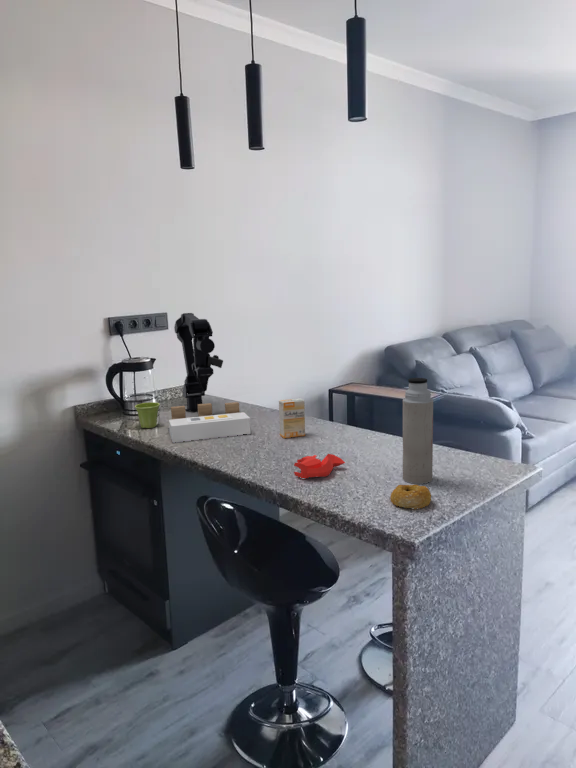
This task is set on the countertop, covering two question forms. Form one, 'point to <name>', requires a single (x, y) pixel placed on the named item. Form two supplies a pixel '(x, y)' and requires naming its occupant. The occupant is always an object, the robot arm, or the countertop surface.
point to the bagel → (411, 496)
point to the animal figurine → (317, 466)
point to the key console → (209, 427)
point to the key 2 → (232, 408)
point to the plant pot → (147, 414)
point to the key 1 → (178, 412)
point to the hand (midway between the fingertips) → (203, 389)
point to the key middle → (204, 409)
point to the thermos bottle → (417, 432)
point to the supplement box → (292, 418)
